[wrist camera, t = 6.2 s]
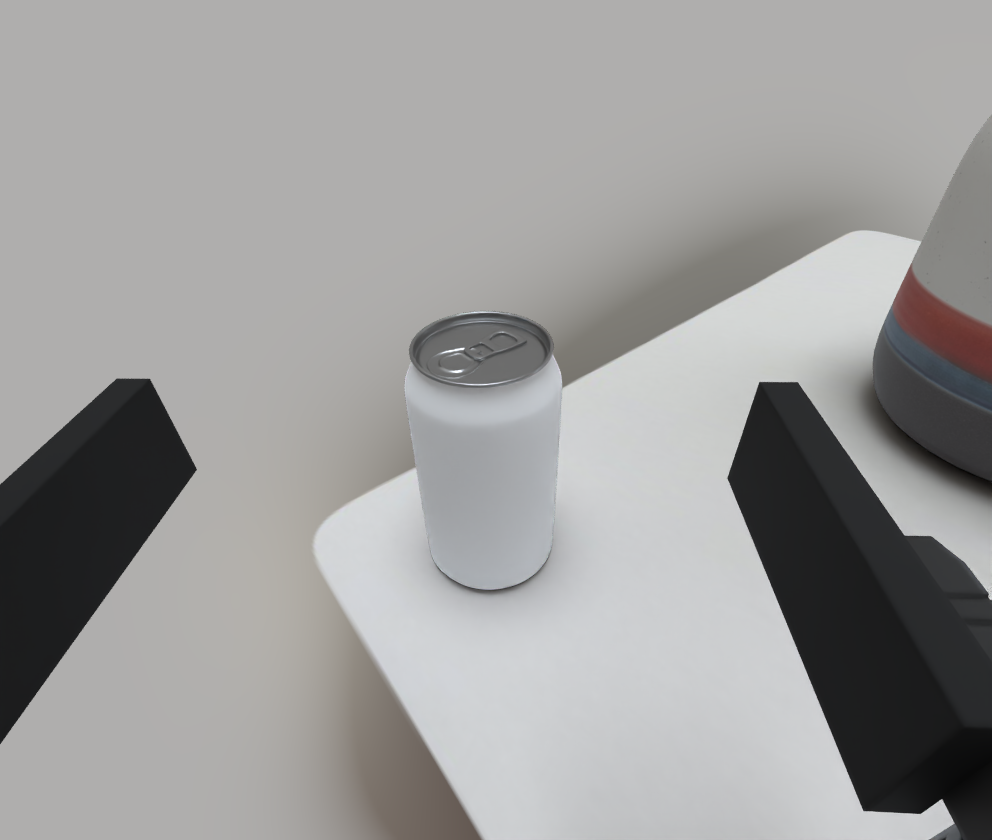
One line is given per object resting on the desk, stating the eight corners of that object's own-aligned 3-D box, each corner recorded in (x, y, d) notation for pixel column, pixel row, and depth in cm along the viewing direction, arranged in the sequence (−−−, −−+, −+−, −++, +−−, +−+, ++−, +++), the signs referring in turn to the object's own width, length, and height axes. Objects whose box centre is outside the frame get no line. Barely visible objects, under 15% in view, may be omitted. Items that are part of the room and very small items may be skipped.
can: (406, 537, 28) (366, 341, 21) (498, 480, 32) (491, 292, 24) (482, 620, 25) (466, 416, 17) (578, 546, 28) (600, 346, 20)
